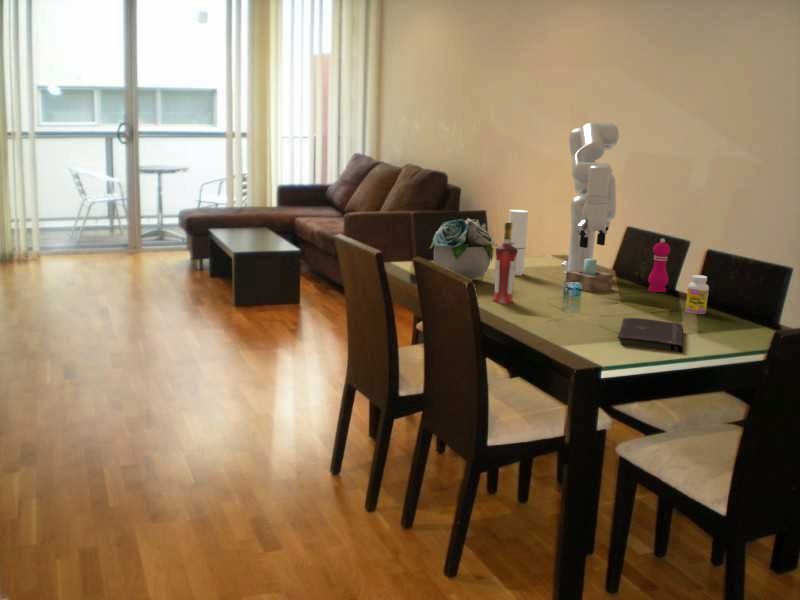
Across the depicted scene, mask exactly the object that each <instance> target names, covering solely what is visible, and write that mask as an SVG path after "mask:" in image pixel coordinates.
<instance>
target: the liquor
mask: <svg viewBox="0 0 800 600" xmlns="http://www.w3.org/2000/svg"><path fill="white" fill-rule="evenodd" d="M503 224H504V226H503V228H504V229H503V231H504V232H503V233H504V234H503V237H502V238H503V239H502V244H501V245H498V246H496V247H495V259H494V260H495V261H494V271H495V272H494V274H495V275H494V294H493V295H494V296H493V299H492V301H493V303H496V304H497V303H498V304H506V305H509V304H512V303H514V301H513V291H514V284H515V283H514V282H515V276H516V275H515V269H516V260H517V252H518V250H517V249H516V248H515V247H513V246H511V230H512V224H513V222H509V221H504V223H503Z"/></svg>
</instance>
